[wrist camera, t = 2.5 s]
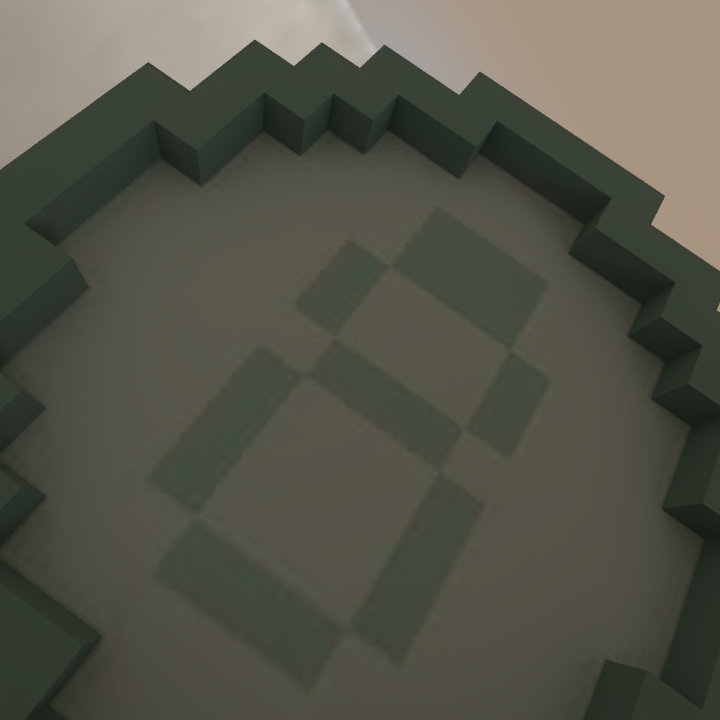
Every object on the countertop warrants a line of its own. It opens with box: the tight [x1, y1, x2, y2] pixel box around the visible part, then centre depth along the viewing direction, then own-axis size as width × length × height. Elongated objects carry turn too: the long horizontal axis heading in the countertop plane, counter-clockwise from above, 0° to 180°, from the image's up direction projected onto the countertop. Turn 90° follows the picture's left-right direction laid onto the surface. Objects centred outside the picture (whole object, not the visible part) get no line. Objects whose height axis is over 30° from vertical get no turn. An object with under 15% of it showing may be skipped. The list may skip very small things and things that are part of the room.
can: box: [0, 40, 720, 720], centre depth 10 cm, size 6×6×15 cm
